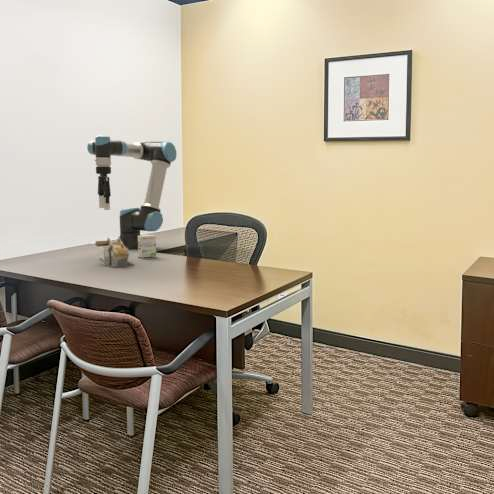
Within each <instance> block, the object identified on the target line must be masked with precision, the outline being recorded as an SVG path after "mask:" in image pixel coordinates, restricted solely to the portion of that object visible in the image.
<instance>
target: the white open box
mask: <svg viewBox="0 0 494 494" xmlns="http://www.w3.org/2000/svg"><path fill="white" fill-rule="evenodd" d="M108 247H109V246H98V248H99V249H98V251H99V253H98V254H99V255H98V256H99V259H100V260H102V262H103V261H107V260H109V255H108V252H107V249H108ZM111 260H116V259H115V257H114V255H113V253H112V251H111Z"/></svg>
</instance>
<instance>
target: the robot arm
mask: <svg viewBox="0 0 494 494" xmlns="http://www.w3.org/2000/svg"><path fill="white" fill-rule="evenodd" d="M176 149H177V148H176V146H175V145H174V143H173V142H171V141H164V140H163V141H145V142H134V143H127V142H126V141H123V140H114V139H113V140H111V137H110V136H109V135H97V136H95V138H94V140H91V141H89V142H88V143H87V151H88V153H89V154H90V155H94V156H95V159H94V162H95V166H96V167H95V173H96V175H98V177H97V179H98V182H97V183H98V184H97V195H98V205H99V206H98V208H99V209H104V211H109V210H111V201H110V199H111V198H110V197H111V196H112V195H111V185H110V183H111V182H110V176H108V175H110V174H112V167H111V165H112V161H111V159H112V157H111V156H114V157H128V158H129V157H130V158H133V159H135V160H142V161H147V162H150V164H151V170H150V175H149V180H148V183H147V188H146V189H147V190H146V193H145V198H144V202H143V204H142V205H141V206H140V207H133V208H124V209H123V208H122V209H120V211H119V232H120V233H119V237H120V239H121V241H122V243H123V244H124V246H127V248H128V250H129V249H133V250H134V249H138V236H142V234H141V231H142V232H149V233H150V232H156V231H158V230H159V229H160V228H161V227H162V225H163V223H164V222H163V221H164V217H163V214H162V211H161V208H160V203H161V198H162V193H163V189H164V183H165V179H166V174H167V169H168V168H170V167H171V164H172V163H173V162H174V161H176V159H177V150H176Z"/></svg>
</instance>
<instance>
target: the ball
mask: <svg viewBox="0 0 494 494" xmlns="http://www.w3.org/2000/svg"><path fill="white" fill-rule="evenodd" d="M119 253H125V250H124V249H123V248H120V249H118V254H119Z"/></svg>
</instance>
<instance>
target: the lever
mask: <svg viewBox="0 0 494 494" xmlns="http://www.w3.org/2000/svg"><path fill="white" fill-rule="evenodd" d="M95 246H96V247H98V248H99V247H106V246H109V247H111V251H112V253H113V255H114V257H115V259H116V260H121V259H127V260H129V257H130V256H129V250H128V251H127V250H126V248H125V246H124V244H123V243H122V241H121V239H120V236H118V237H117V240H116V239H115V240H111V239H110V237H107V240H95ZM120 248H123V249H124V250H125V253H119V254H118V249H120Z"/></svg>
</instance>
